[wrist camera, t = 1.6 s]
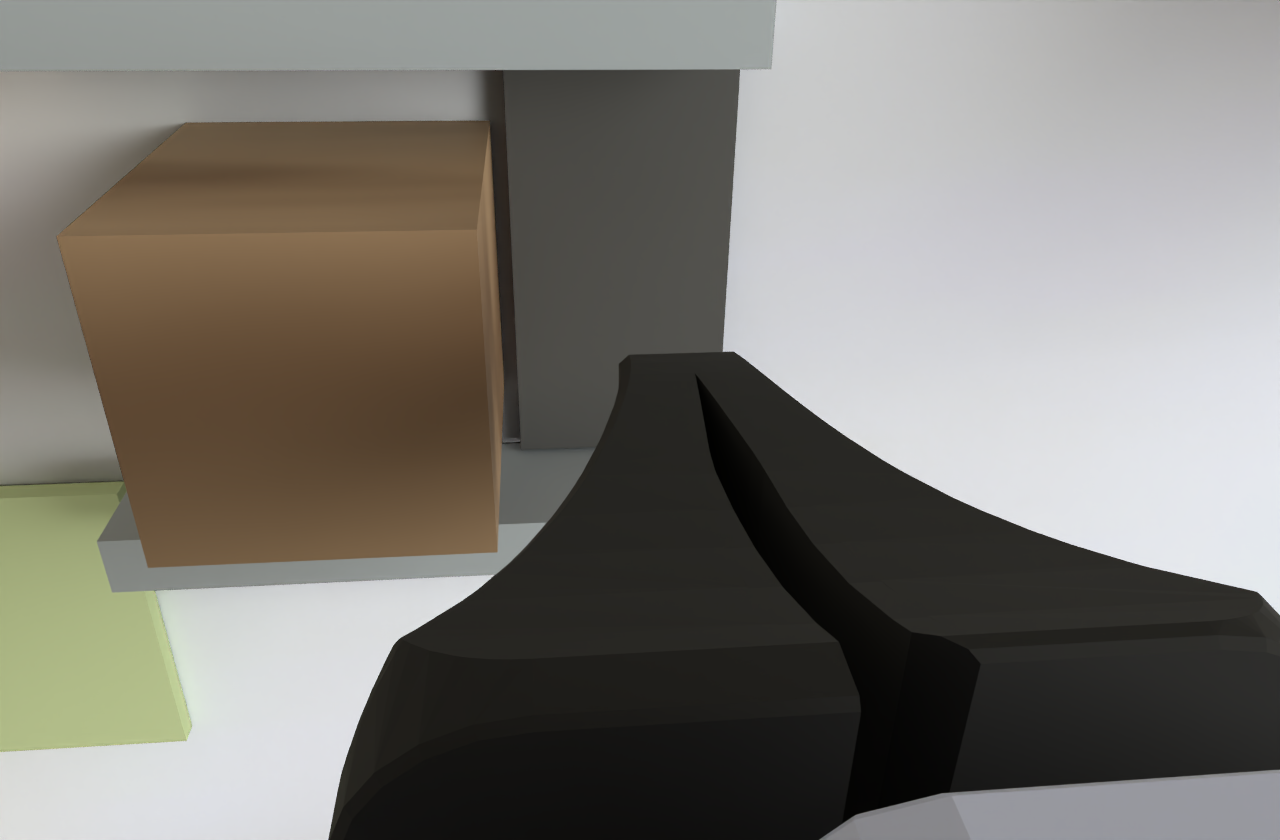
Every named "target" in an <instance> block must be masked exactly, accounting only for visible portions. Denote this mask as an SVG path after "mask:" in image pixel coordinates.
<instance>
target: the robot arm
mask: <svg viewBox="0 0 1280 840" xmlns="http://www.w3.org/2000/svg"><path fill="white" fill-rule="evenodd" d="M329 840H1280V615H1279V614H1278V613H1277V612H1276V611H1275V610H1274V609H1273V608H1272V607H1271V606H1270V605H1269V603H1268V602H1267V601H1266V600H1265V599H1264V598H1263V597H1262V596H1261V595H1260V594H1259V593H1257V592H1255V591H1250V590H1246V589H1242V588H1237V587H1233V586H1228V585H1224V584H1220V583H1215V582H1211V581H1206V580H1202V579H1198V578H1193V577H1189V576H1184V575H1180V574H1176V573H1171V572H1167V571H1162V570H1158V569H1154V568H1149V567H1145V566H1141V565H1138V564H1134V563H1130V562H1127V561H1124V560H1120V559H1117V558H1114V557H1110V556H1107V555H1104V554H1101V553H1097V552H1094V551H1091V550H1087V549H1084V548H1081V547H1077V546H1074V545H1071V544H1068V543H1065V542H1062V541H1059V540H1057V539H1054V538H1051V537H1048V536H1045V535H1042V534H1039V533H1036V532H1034V531H1031V530H1028V529H1026V528H1023V527H1021V526H1018V525H1016V524H1013V523H1011V522H1009V521H1006V520H1004V519H1001V518H999V517H996V516H994V515H991V514H989V513H986V512H984V511H981V510H979V509H977V508H974V507H972V506H970V505H968V504H966V503H963V502H961V501H959V500H957V499H955V498H952V497H950V496H948V495H946V494H944V493H943V492H941V491H939V490H937V489H935V488H933V487H931V486H929V485H927V484H925V483H923V482H921V481H919V480H917V479H915V478H913V477H912V476H910V475H908V474H906V473H904V472H902V471H900V470H899V469H897V468H895V467H894V466H892V465H890V464H888V463H887V462H885V461H883V460H882V459H880V458H878V457H877V456H875V455H874V454H872V453H871V452H869V451H868V450H866V449H864V448H863V447H861V446H860V445H858V444H857V443H855V442H854V441H852V440H850V439H849V438H847V437H846V436H844V435H843V434H842V433H840V432H839V431H837V430H836V429H834V428H833V427H831V426H830V425H829V424H827V423H826V422H824V421H823V420H822V419H820V418H819V417H818V416H816V415H815V414H814V413H812V412H811V411H810V410H808V409H807V408H806V407H804V406H803V405H802V404H800V403H799V402H798V401H796V400H795V399H794V398H793V397H791V396H790V395H789V394H787V393H786V392H785V391H784V390H782V389H781V388H780V387H779V386H777V385H776V384H775V383H774V382H772V381H771V380H770V379H769V378H767V377H766V376H765V375H764V374H762V373H761V372H760V371H759V370H757V369H756V368H755V367H754V366H752V365H751V364H750V363H749V362H747V361H746V360H745V359H743V358H742V357H741V356H739V355H738V354H736V353H735V352H704V353H669V354H634V355H628V356H627V357H626V358H625V359H624V360H622V361H621V362H620V363H619V389H618V393H617V397H616V400H615V404H614V407H613V409H612V412H611V414H610V417H609V419H608V422H607V424H606V427H605V429H604V432H603V434H602V436H601V439H600V441H599V443H598V444H597V446H596V448H595V450H594V452H593V454H592V456H591V458H590V459H589V461H588V463H587V465H586V467H585V469H584V471H583V472H582V474H581V476H580V477H579V479H578V480H577V482H576V484H575V485H574V487H573V488H572V490H571V491H570V493H569V494H568V496H567V497H566V498H565V500H564V501H563V502H562V504H561V505H560V506H559V508H558V509H557V511H556V512H555V513H554V515H553V516H552V517H551V518H550V520H549V521H548V522H547V523H546V524H545V525H544V526H543V528H542V529H541V530H540V531H539V532H538V533H537V534H536V536H535V537H534V538H533V539H532V540H531V541H530V542H529V544H528V545H527V546H526V547H525V548H524V549H523V550H522V551H521V552H520V553H519V554H518V555H517V556H516V557H515V558H514V559H513V560H512V561H511V562H510V563H509V564H507V565H506V566H505V567H504V568H503V569H502V570H500V571H499V572H498V573H497V574H496V575H495V576H493V577H492V578H491V579H490V580H489V581H488V582H486V583H485V584H484V585H483V586H482V587H480V588H479V589H478V590H477V591H475V592H474V593H473V594H471V595H470V596H468V597H467V598H466V599H464V600H463V601H461V602H460V603H458V604H456V605H455V606H453V607H452V608H450V609H448V610H447V611H445V612H443V613H442V614H440V615H439V616H437V617H435V618H434V619H432V620H431V621H429V622H427V623H426V624H424V625H422V626H421V627H419V628H418V629H416V630H414V631H412V632H411V633H409V634H407V635H405V636H403V637H401V638H400V639H399V640H398V641H397V642H396V643H395V644H394V646H393V648H392V649H391V651H390V653H389V655H388V657H387V659H386V661H385V663H384V666H383V668H382V670H381V672H380V674H379V676H378V678H377V680H376V682H375V685H374V687H373V689H372V691H371V693H370V696H369V698H368V701H367V703H366V705H365V708H364V710H363V713H362V715H361V717H360V720H359V723H358V725H357V728H356V731H355V734H354V737H353V740H352V743H351V746H350V748H349V751H348V754H347V757H346V761H345V764H344V767H343V770H342V774H341V778H340V783H339V788H338V792H337V798H336V803H335V808H334V813H333V819H332V824H331V829H330V834H329Z"/></svg>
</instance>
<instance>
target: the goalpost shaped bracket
mask: <svg viewBox="0 0 1280 840" xmlns="http://www.w3.org/2000/svg"><path fill="white" fill-rule="evenodd" d="M775 13H776V0H0V71H290V70H503V79H504V100H505V121H506V142H507V163H508V184H509V205H510V226H511V247H512V268H513V289H514V310H515V331H516V352H517V373H518V394H519V415H520V436H521V443H508V444H502V450H501V476H500V503H499V529H498V552H496V553H473V554H451V555H428V556H406V557H383V558H361V559H338V560H316V561H293V562H271V563H248V564H226V565H203V566H181V567H158V568H148V566H147V563H146V559H145V555H144V552H143V548H142V544H141V541H140V537H139V534H138V530H137V526H136V523H135V519H134V516H133V512H132V508H131V505H130V501H129V497H128V494H127V492H126V493H125V495H124V497H123V498H122V500H121V502H120V504H119V505H118V507H117V509H116V510H115V512H114V514H113V515H112V517H111V519H110V520H109V522H108V524H107V525H106V527H105V529H104V530H103V532H102V534H101V535H100V537H99V539H98V540H97V544H98V548H99V551H100V554H101V558H102V561H103V564H104V568H105V571H106V574H107V577H108V581H109V584H110V587H111V591H112V593H115V592H136V591H157V590H179V589H200V588H221V587H242V586H264V585H285V584H306V583H328V582H349V581H370V580H392V579H413V578H434V577H456V576H477V575H496V574H497V573H498V572H499V571H500V570H502V569H503V568H504V567H505V566H506V565H507V564H509V563H510V562H511V561H512V560H513V559H514V558H515V557H516V556H517V555H518V554H519V553H520V552H521V551H522V550H523V549H524V548H525V547H526V546H527V545H528V544H529V542H530V541H531V540H532V539H533V538H534V537H535V536H536V534H537V533H538V532H539V531H540V530H541V529H542V528H543V526H544V525H545V524H546V523H547V522H548V521H549V520H550V518H551V517H552V516H553V515H554V513H555V512H556V511H557V509H558V508H559V506H560V505H561V504H562V502H563V501H564V500H565V498H566V497H567V496H568V494H569V493H570V491H571V490H572V488H573V487H574V485H575V484H576V482H577V480H578V479H579V477H580V476H581V474H582V472H583V471H584V469H585V467H586V465H587V463H588V461H589V459H590V458H591V456H592V454H593V452H594V450H595V448H596V446H597V444H598V443H599V441H600V439H601V436H602V434H603V432H604V429H605V427H606V424H607V422H608V419H609V417H610V414H611V412H612V409H613V407H614V404H615V400H616V397H617V393H618V389H619V363H620V362H621V361H622V360H624V359H625V358H626V357H627V356H628V355H634V354H669V353H704V352H722V351H723V334H724V318H725V302H726V286H727V270H728V254H729V238H730V222H731V206H732V190H733V174H734V158H735V141H736V125H737V109H738V93H739V77H740V69H771V65H772V52H773V39H774V26H775Z"/></svg>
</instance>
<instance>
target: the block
mask: <svg viewBox="0 0 1280 840" xmlns="http://www.w3.org/2000/svg"><path fill="white" fill-rule="evenodd" d="M56 237H57V241H58V244H59V248H60V251H61V255H62V259H63V262H64V266H65V269H66V273H67V277H68V280H69V284H70V288H71V291H72V295H73V298H74V302H75V306H76V309H77V313H78V317H79V320H80V324H81V327H82V331H83V335H84V338H85V342H86V345H87V349H88V353H89V356H90V360H91V364H92V367H93V371H94V374H95V378H96V382H97V385H98V389H99V393H100V396H101V400H102V403H103V407H104V411H105V414H106V418H107V421H108V425H109V429H110V432H111V436H112V440H113V443H114V447H115V450H116V454H117V458H118V461H119V465H120V469H121V472H122V476H123V479H124V483H125V487H126V490H127V494H128V497H129V501H130V505H131V508H132V512H133V516H134V519H135V523H136V526H137V530H138V534H139V537H140V541H141V544H142V548H143V552H144V555H145V559H146V563H147V566H148V568H158V567H181V566H203V565H226V564H248V563H271V562H293V561H316V560H338V559H361V558H383V557H406V556H428V555H451V554H473V553H496V552H498V529H499V503H500V476H501V450H502V424H503V398H504V369H503V351H502V333H501V314H500V296H499V278H498V260H497V241H496V223H495V205H494V187H493V168H492V150H491V132H490V121H355V122H208V123H185V124H184V125H183V126H181V127H180V128H179V129H178V130H177V131H176V132H175V133H174V134H172V135H171V136H170V137H169V138H168V139H167V140H166V141H164V142H163V143H162V144H161V145H160V146H159V147H158V148H156V149H155V150H154V151H153V152H152V153H151V154H150V155H149V156H147V157H146V158H145V159H144V160H143V161H142V162H141V163H139V164H138V165H137V166H136V167H135V168H134V169H133V170H131V171H130V172H129V173H128V174H127V175H126V176H125V177H123V178H122V179H121V180H120V181H119V182H118V183H117V184H116V185H114V186H113V187H112V188H111V189H110V190H109V191H108V192H106V193H105V194H104V195H103V196H102V197H101V198H100V199H98V200H97V201H96V202H95V203H94V204H93V205H92V206H91V207H89V208H88V209H87V210H86V211H85V212H84V213H83V214H81V215H80V216H79V217H78V218H77V219H76V220H75V221H73V222H72V223H71V224H70V225H69V226H68V227H67V228H66V229H64V230H63V231H62V232H61V233H60V234H59V235H58V236H56Z"/></svg>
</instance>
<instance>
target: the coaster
mask: <svg viewBox="0 0 1280 840" xmlns="http://www.w3.org/2000/svg"><path fill="white" fill-rule="evenodd" d="M126 492H127V490H126V487H125V483H124V481H121V482H94V483H68V484H41V485H14V486H0V752H7V751H23V750H40V749H57V748H74V747H90V746H107V745H124V744H140V743H157V742H174V741H187V738H188V735H189V733H190V730H191V727H192V724H191V721H190V717H189V713H188V710H187V706H186V702H185V699H184V695H183V691H182V688H181V684H180V681H179V677H178V673H177V670H176V666H175V662H174V659H173V655H172V652H171V648H170V644H169V641H168V637H167V633H166V630H165V626H164V623H163V619H162V615H161V612H160V608H159V604H158V601H157V597H156V594H155V591H136V592H115V593H112V591H111V587H110V584H109V581H108V577H107V574H106V571H105V568H104V564H103V561H102V558H101V554H100V551H99V548H98V544H97V540H98V539H99V537H100V535H101V534H102V532H103V530H104V529H105V527H106V525H107V524H108V522H109V520H110V519H111V517H112V515H113V514H114V512H115V510H116V509H117V507H118V505H119V504H120V502H121V500H122V498H123V497H124V495H125V493H126Z"/></svg>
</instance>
